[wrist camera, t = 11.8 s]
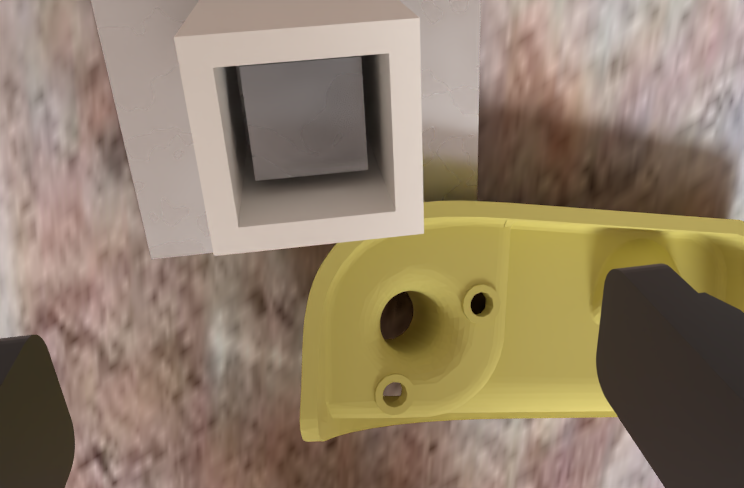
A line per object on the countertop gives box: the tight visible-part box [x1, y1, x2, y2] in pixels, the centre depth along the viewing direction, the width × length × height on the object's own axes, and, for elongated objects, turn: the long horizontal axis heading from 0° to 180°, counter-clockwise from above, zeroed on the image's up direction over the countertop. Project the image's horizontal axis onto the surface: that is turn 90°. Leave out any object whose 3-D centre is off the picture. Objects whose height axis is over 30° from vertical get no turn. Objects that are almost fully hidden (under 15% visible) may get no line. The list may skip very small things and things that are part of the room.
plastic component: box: [300, 201, 744, 442], centre depth 29 cm, size 20×7×10 cm
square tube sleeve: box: [174, 0, 424, 256], centre depth 21 cm, size 6×6×7 cm
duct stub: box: [91, 0, 481, 259], centre depth 22 cm, size 13×13×6 cm
